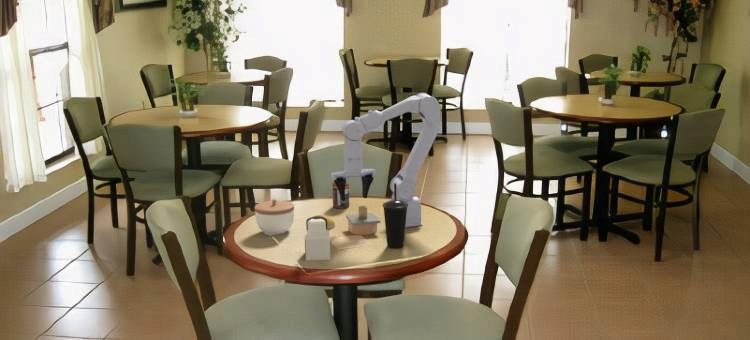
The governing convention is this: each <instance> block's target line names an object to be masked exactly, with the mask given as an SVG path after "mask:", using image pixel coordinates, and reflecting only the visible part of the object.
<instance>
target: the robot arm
mask: <svg viewBox="0 0 750 340" xmlns="http://www.w3.org/2000/svg"><path fill="white" fill-rule="evenodd" d="M441 110H442V107H441V105H440V103H439V101H438V99H437V98H436V97H434V96H432V95H429V94H428V93H426V92H420V93H417V94H416V95H412V96H409V97H407V98H405V99H404V100H402V101H400V102H397V103H396V104H394V105H391V106H390V107H388V108H385V109H384V110H381V111H379V110H376V109H374V110H373V109H369V110H368V111H367V112H368V113H365V114H363V115H361V116H359V117H358V116H355V117H354V119H351V120H346V122H344V124H343V126H342V129H341V131H342V134H343V135H344V137H343V141H344V144H343V152H344V153H343V156H344V159H343V160H344V163H343V164H344V165H343V166H344V169H343V170H342V171H341V170H340V171H334V172H331V174H330V176H331V177H330V178H331V179H332V181H333V182H335V184H336V186H337V188H338V190H339V194H340V198H341V200H342V201H345V184H346V182H345V181H344V179H343V178H346V179H351V178H359V177H360V178H361V186H362V188H361V189H362V192H361V194H362V198H364V199H368V195H369V190H370V187H371V185H372V183H373V181H374V176H375V177H376V169H375V168H363V143H362V138H363V137H364V135H367V134H369V133H371V132H373V131H375V130H378V129H379V128H382V127H384V125H385V122H386V121H388V120H391V119H394V118H397V117H398V116H401V115H404V114H405V113H414V114H419V116H420V118H421V121H422V122H423V126H422V128H421V130H420V133H419V135H418V136H417V139H416V141H415V142H414V145H413V147H412V149H411V151H410V152H409V154H408V157H407V160H406V161H405V163H404V165H403V167H401V169H400V170H398V172H397V174H396V176H394V177H393V178H391V181H390V185H389V186H390V187H389V188H390V190H391V192H392V194H391V200H394V183H396V200H401V201H403V202H406V203H408V207H407V214H406V225H405V228H411V227H417V226H418V227H419V226H423V223H422V203H421V200H420V198H419V197H417V196H415V193H416V186H417V183H418V174H419V173H420V170H421V168H422V166H423V164H424V162H425V160H426V158H427V156H428V154H429V152H430V150H431V148H432V146H433V144H434V142H435V140H436V138H437V136H438V134H439V131H440V129H441V127H442V121H441V120H442V119H441Z"/></svg>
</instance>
